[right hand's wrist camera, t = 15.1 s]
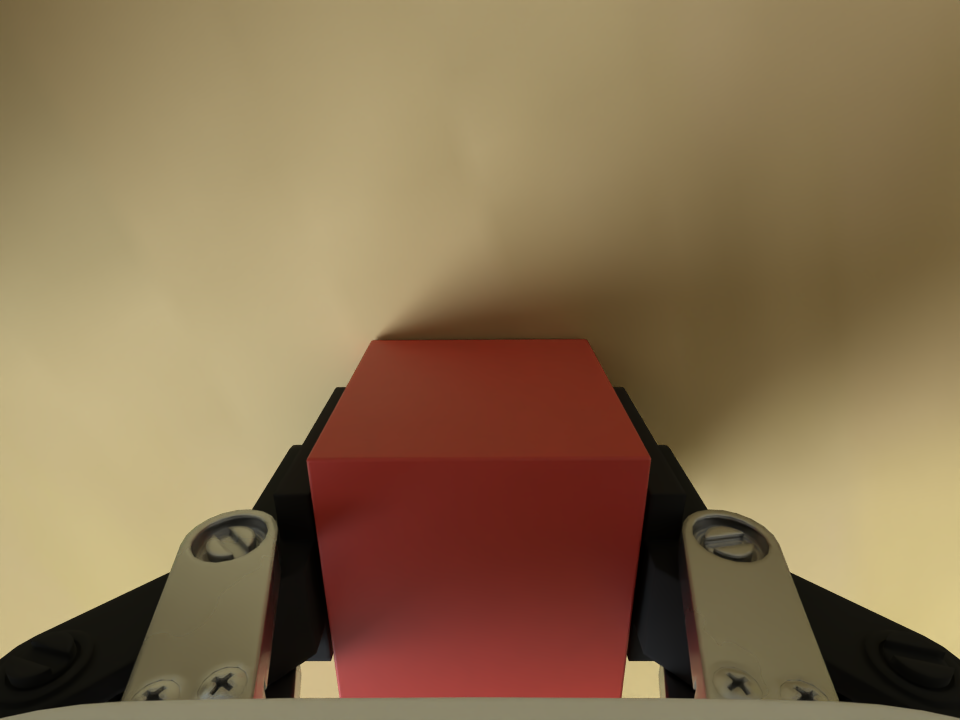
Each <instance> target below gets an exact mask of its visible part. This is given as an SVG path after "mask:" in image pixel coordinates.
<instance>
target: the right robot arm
mask: <svg viewBox="0 0 960 720" xmlns="http://www.w3.org/2000/svg"><path fill="white" fill-rule="evenodd" d="M345 389H346V387H337V388H336V389H335V390H334V392H333V394H332V395H331V397H330V399H329V400H328V402H327V404H326V405H325V407H324V409H323V411H322V412H321V414H320V416H319V417H318V419H317V421H316V422H315V424H314V426H313V428H312V429H311V431H310V433H309V434H308V436H307V438H306V440H305V441H304V443H303V445H293V446H292V447H291V448H290V449H289V451H288V452H287V454H286V456H285V457H284V459H283V461H282V462H281V464H280V465H279V467H278V469H277V470H276V472H275V473H274V475H273V477H272V478H271V480H270V481H269V483H268V485H267V486H266V488H265V490H264V491H263V493H262V494H261V496H260V498H259V499H258V501H257V502H256V504H255V506H254V507H253V509H252V510H236V511H231V512H227V513H223V514H220V515H217V516H215V517H212V518H210V519H208V520H206V521H204V522H203V523H201V524H199V525H198V526H196V527H195V528H194V529H193V530H192V531H191V532H189V533H188V534H187V535H186V537H185V538H184V540H183V542H182V543H181V545H180V548H179V550H178V553H177V555H176V558H175V561H174V563H173V566H172V568H171V571H170V572H169V573H167V574H165V575H163V576H161V577H159V578H157V579H155V580H153V581H150V582H148V583H146V584H144V585H142V586H140V587H138V588H136V589H134V590H132V591H129V592H127V593H125V594H123V595H121V596H119V597H117V598H115V599H113V600H110V601H108V602H106V603H104V604H102V605H100V606H98V607H96V608H94V609H92V610H89V611H87V612H85V613H83V614H81V615H79V616H77V617H75V618H73V619H70V620H68V621H66V622H64V623H62V624H60V625H58V626H56V627H54V628H52V629H49V630H47V631H45V632H43V633H41V634H39V635H37V636H35V637H33V638H31V639H30V640H28V641H26V642H24V643H22V644H21V645H19V646H17V647H16V648H14V649H13V650H12V651H10V652H9V653H8V654H7V655H5V656H4V657H3V658H1V659H0V720H960V659H958V658H957V657H956V656H955V655H953V654H952V653H951V652H949V651H948V650H947V649H945V648H944V647H943V646H941V645H939V644H937V643H936V642H934V641H932V640H930V639H928V638H927V637H925V636H923V635H921V634H919V633H917V632H915V631H912V630H910V629H908V628H906V627H904V626H902V625H900V624H898V623H896V622H894V621H891V620H889V619H887V618H885V617H883V616H881V615H879V614H877V613H875V612H872V611H870V610H868V609H866V608H864V607H862V606H860V605H858V604H856V603H854V602H851V601H849V600H847V599H845V598H843V597H841V596H839V595H837V594H835V593H832V592H830V591H828V590H826V589H824V588H822V587H820V586H818V585H816V584H814V583H811V582H809V581H807V580H805V579H803V578H801V577H799V576H797V575H795V574H792V573H790V571H789V568H788V566H787V563H786V561H785V558H784V555H783V553H782V550H781V548H780V545H779V543H778V542H777V540H776V538H775V537H774V535H773V534H772V533H771V532H769V531H768V530H767V529H766V528H765V527H764V526H762V525H761V524H759V523H757V522H756V521H754V520H752V519H750V518H748V517H745V516H743V515H740V514H737V513H733V512H729V511H724V510H708V509H707V508H706V506H705V504H704V503H703V501H702V500H701V498H700V496H699V495H698V493H697V492H696V490H695V488H694V487H693V485H692V484H691V482H690V480H689V479H688V477H687V475H686V474H685V472H684V471H683V469H682V467H681V466H680V464H679V463H678V461H677V459H676V458H675V456H674V455H673V453H672V451H671V450H670V448H669V447H668V446H667V445H657V443H656V442H655V440H654V438H653V437H652V435H651V433H650V431H649V430H648V428H647V426H646V425H645V423H644V421H643V420H642V418H641V416H640V414H639V413H638V411H637V409H636V408H635V406H634V404H633V403H632V401H631V399H630V397H629V396H628V394H627V392H626V391H625V389H624V388H623V387H613V389H614V391H615V392H616V394H617V396H618V398H619V400H620V402H621V404H622V405H623V407H624V409H625V411H626V413H627V415H628V416H629V418H630V420H631V422H632V424H633V426H634V428H635V429H636V431H637V433H638V435H639V437H640V439H641V440H642V442H643V444H644V446H645V448H646V450H647V452H648V453H649V455H650V457H651V464H650V472H649V480H648V488H647V496H646V504H645V512H644V520H643V528H642V536H641V544H640V552H639V560H638V568H637V576H636V584H635V592H634V600H633V608H632V617H631V625H630V633H629V641H628V649H627V657H628V660H629V661H655V662H656V663H658V664H659V665H660V669H659V689H660V698H514V697H445V698H300V689H301V669H300V664H302V663H303V662H305V661H331V659H332V656H333V647H332V639H331V632H330V625H329V618H328V611H327V604H326V596H325V589H324V582H323V575H322V568H321V561H320V553H319V546H318V539H317V532H316V525H315V518H314V510H313V503H312V496H311V489H310V482H309V475H308V467H307V458H308V456H309V454H310V453H311V451H312V449H313V447H314V445H315V443H316V442H317V440H318V438H319V436H320V434H321V432H322V431H323V429H324V427H325V425H326V423H327V421H328V420H329V418H330V416H331V414H332V412H333V410H334V409H335V407H336V405H337V403H338V401H339V399H340V398H341V396H342V394H343V392H344V390H345Z"/></svg>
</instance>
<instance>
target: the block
mask: <svg viewBox="0 0 960 720" xmlns="http://www.w3.org/2000/svg"><path fill="white" fill-rule="evenodd" d="M650 464H651V457H650V455H649V453H648V452H647V450H646V448H645V446H644V444H643V442H642V440H641V439H640V437H639V435H638V433H637V431H636V429H635V428H634V426H633V424H632V422H631V420H630V418H629V416H628V415H627V413H626V411H625V409H624V407H623V405H622V404H621V402H620V400H619V398H618V396H617V394H616V392H615V391H614V389H613V387H612V385H611V383H610V381H609V380H608V378H607V376H606V374H605V372H604V370H603V368H602V367H601V365H600V363H599V361H598V359H597V357H596V356H595V354H594V352H593V350H592V348H591V346H590V344H589V343H588V341H587V340H586V339H525V340H373V341H371V343H370V345H369V346H368V348H367V350H366V352H365V354H364V356H363V357H362V359H361V361H360V363H359V365H358V367H357V368H356V370H355V372H354V374H353V376H352V378H351V379H350V381H349V383H348V385H347V387H346V389H345V390H344V392H343V394H342V396H341V398H340V399H339V401H338V403H337V405H336V407H335V409H334V410H333V412H332V414H331V416H330V418H329V420H328V421H327V423H326V425H325V427H324V429H323V431H322V432H321V434H320V436H319V438H318V440H317V442H316V443H315V445H314V447H313V449H312V451H311V453H310V454H309V456H308V458H307V467H308V475H309V482H310V489H311V496H312V503H313V510H314V518H315V525H316V532H317V539H318V546H319V553H320V561H321V568H322V575H323V582H324V589H325V596H326V604H327V611H328V618H329V625H330V632H331V639H332V647H333V654H334V661H335V668H336V675H337V683H338V690H339V697H340V698H445V697H514V698H621V697H622V689H623V681H624V673H625V665H626V657H627V649H628V641H629V633H630V625H631V617H632V608H633V600H634V592H635V584H636V576H637V568H638V560H639V552H640V544H641V536H642V528H643V520H644V512H645V504H646V496H647V488H648V480H649V472H650Z"/></svg>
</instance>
